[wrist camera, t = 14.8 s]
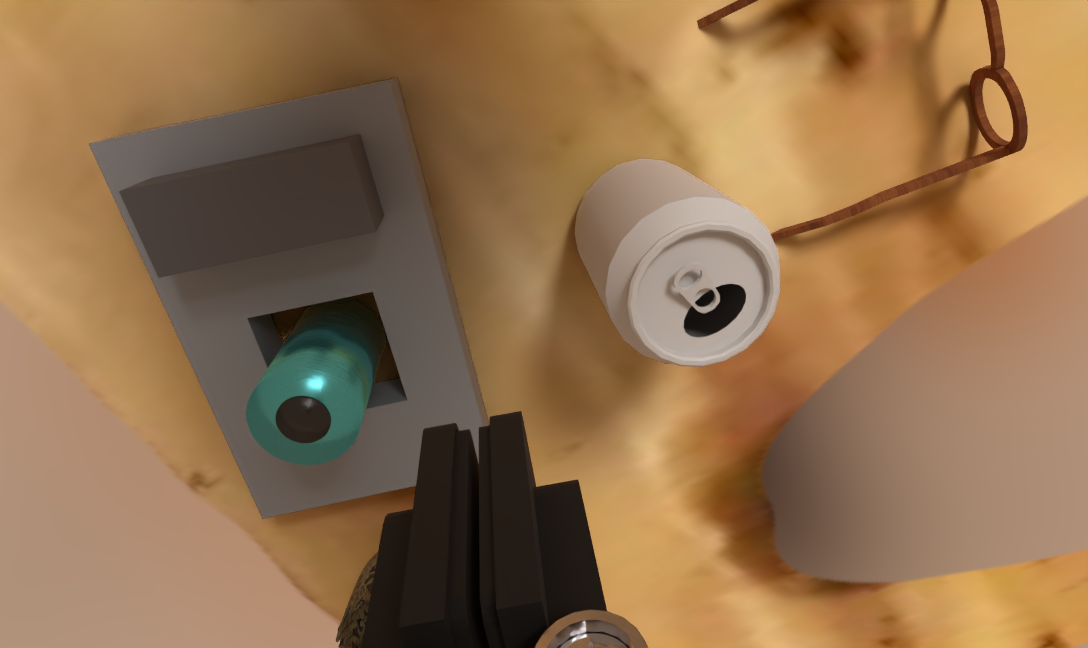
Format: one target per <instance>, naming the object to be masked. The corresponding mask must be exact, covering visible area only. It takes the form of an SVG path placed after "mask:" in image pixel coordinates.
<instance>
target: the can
mask: <svg viewBox="0 0 1088 648" xmlns="http://www.w3.org/2000/svg"><path fill="white" fill-rule="evenodd" d="M574 234H575V239H576V243H577V248H578V253H579V255H580V257H581V259H582V261H583V263H584V266H585V268H586V270H587V272H588V274H589V276H590V278H591V280H592V282H593V284H594V286H595V288H596V290H597V292H598V294H599V296H600V299H601V301H602V303H603V305H604V307H605V309H606V311H607V313H608V315H609V317H610V319H611V321H612V322H613V324H614V326H615V327H616V329H617V331H618V332H619V334H620V336H621V337H622V339H623V340H624V341H625V342H626V343H628V344H629V345H630V346H631V347H633V348H634V349H635V350H636V351H638V352H639V353H640V354H641V355H643V356H646V357H649V358H651V359H654V360H657V361H660V362H662V363H665V364H676V365H678V366H694V367H703V366H707V365H711V364H715V363H719V362H723V361H726V360H728V359H729V358H731V357H733V356H735V355H737V354H739V353H740V352H742V351H744V350H746V349H747V348H748V347H749V346H750V345H751V344H752V343H753V342H754V341H755V340H756V339H757V338H758V337H759V336H760V335H761V334H762V333H763V332H764V330H765V328H766V327H767V325H768V323H769V321H770V320H771V318H772V316H773V315H774V313H775V309H776V305H777V301H778V297H779V293H780V281H779V280H780V268H779V255H778V250H777V247H776V245H775V243H774V241H773V239H772V237H771V234H770V232H769V230H768V228H767V227H766V226H765V225H764V224H763V223H762V222H761V221H760V220H759V219H758V218H757V217H756V216H755V215H754V214H753V213H752V212H751V211H750V210H749V209H747V208H746V207H744V206H742V205H741V204H739V203H737V202H736V201H734V200H733V199H731V198H729V197H728V196H726V195H724V194H723V193H721V192H719V191H718V190H716V189H715V188H713V187H711V186H710V185H708V184H706V183H705V182H703V181H701V180H700V179H698V178H697V177H695V176H693V175H692V174H690V173H688V172H687V171H685V170H684V169H682V168H680V167H677V166H675V165H673V164H671V163H668V162H666V161H664V160H655V159H643V158H641V159H637V160H633V161H629V162H625V163H621V164H619V165H617V166H615V167H614V168H612V169H610V170H609V171H607V172H606V173H604V174H602V175H601V176H600V177H599V178H598V179H597V180H596V181H595V182H594V184H593V185H592V186H591V187H590V188H589V189H588V190H587V192H586V193H585V195H584V197H583V200H582V202H581V204H580V206H579V209H578V211H577V215H576V224H575V233H574Z"/></svg>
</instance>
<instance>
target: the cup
mask: <svg viewBox="0 0 1088 648" xmlns="http://www.w3.org/2000/svg"><path fill="white" fill-rule="evenodd" d="M377 557H378V553H377V554H376V555H374V556H373V558H372V559H371V560H370V561H369V562H368V563H367V565H366V566H365V568H364V569H363V571H362V573H361V575H360V577H359V579H358V581H357V583H356V585H355V588H354V590H353V593H352V595H351V598H350V600H349V603H348V606H347V608H346V611H345V614H344V616H343V619H342V622H341V624H340V626H339V628H338V634H337V638H336V642H338V641H339V640H340V639H341V640H340V644H339V648H361V646H362V640H363V635H364V629H365V624H366V618H367V613H368V607H369V601H370V596H371V590H372V585H373V579H374V573H375V568H376V562H377Z"/></svg>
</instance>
